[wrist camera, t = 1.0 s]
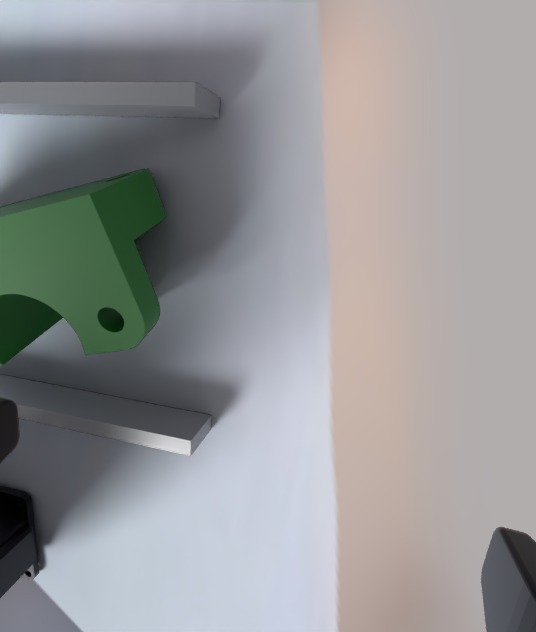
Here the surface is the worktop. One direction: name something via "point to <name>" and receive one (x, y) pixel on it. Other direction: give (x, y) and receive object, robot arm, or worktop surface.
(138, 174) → the green bracket
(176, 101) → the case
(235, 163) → the worktop surface
